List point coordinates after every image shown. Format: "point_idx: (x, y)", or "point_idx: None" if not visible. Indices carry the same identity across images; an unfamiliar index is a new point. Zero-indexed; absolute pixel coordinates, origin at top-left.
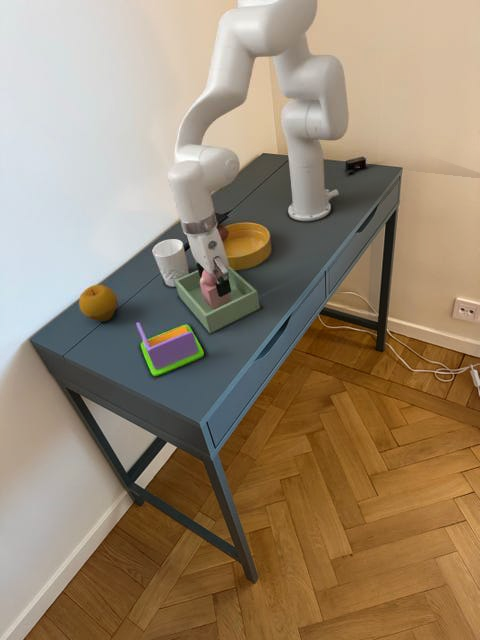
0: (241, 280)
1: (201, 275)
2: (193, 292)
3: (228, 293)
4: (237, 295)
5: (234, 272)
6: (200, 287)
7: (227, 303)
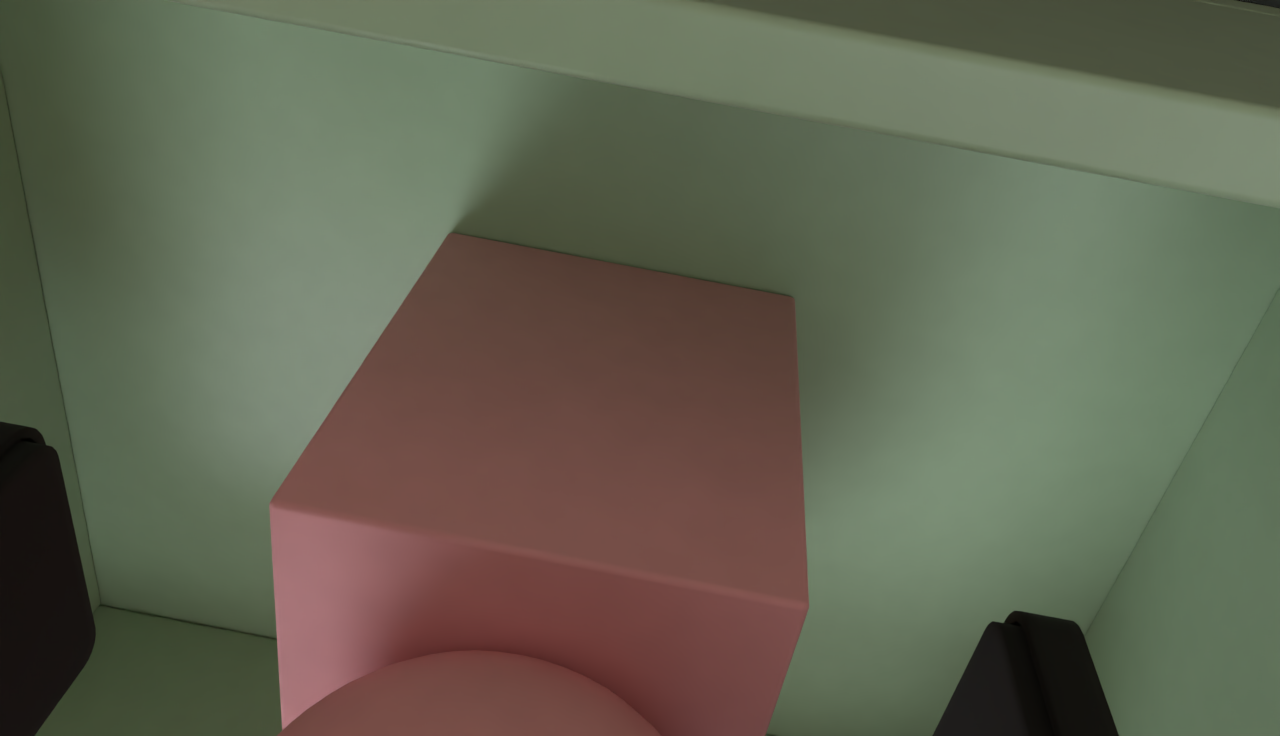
0: (963, 148)
1: (59, 685)
2: (141, 498)
3: (793, 406)
4: (780, 117)
5: (437, 11)
6: (81, 372)
7: (800, 372)
